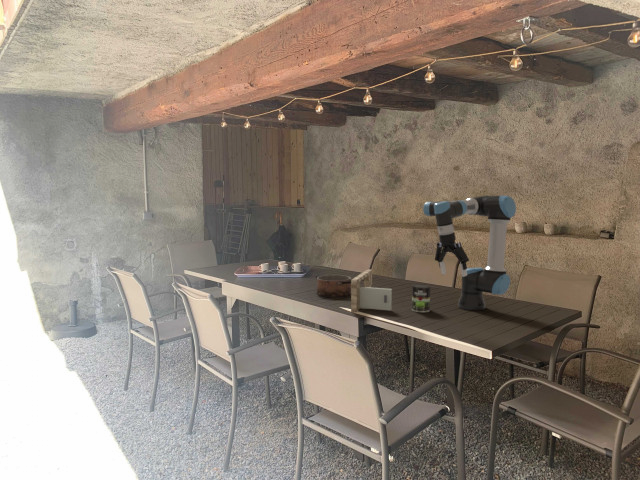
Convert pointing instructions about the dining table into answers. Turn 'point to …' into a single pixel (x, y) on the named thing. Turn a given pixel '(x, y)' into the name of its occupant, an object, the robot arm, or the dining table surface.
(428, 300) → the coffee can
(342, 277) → the cooking pot
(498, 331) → the dining table surface
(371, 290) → the door
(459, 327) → the dining table surface
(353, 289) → the door frame
